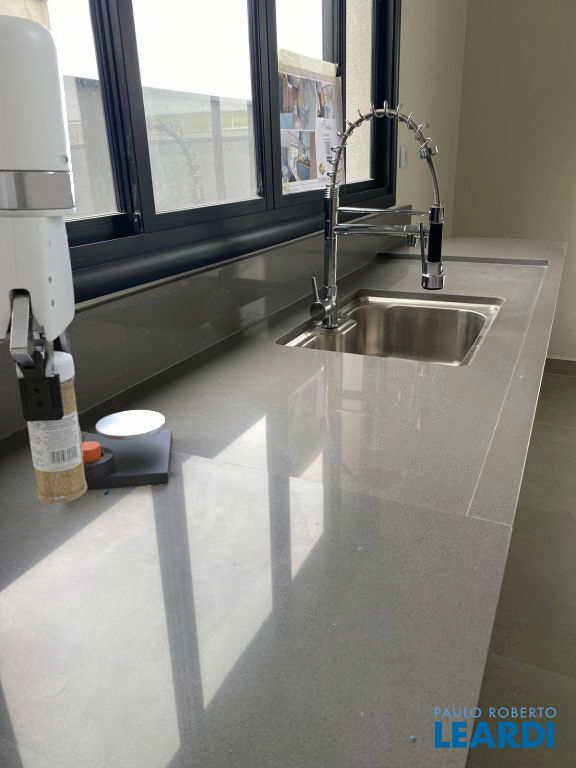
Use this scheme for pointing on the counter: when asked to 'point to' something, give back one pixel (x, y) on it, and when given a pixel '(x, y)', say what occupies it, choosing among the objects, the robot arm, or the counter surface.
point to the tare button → (91, 451)
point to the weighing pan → (130, 424)
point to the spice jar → (59, 444)
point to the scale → (130, 461)
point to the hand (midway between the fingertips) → (51, 406)
